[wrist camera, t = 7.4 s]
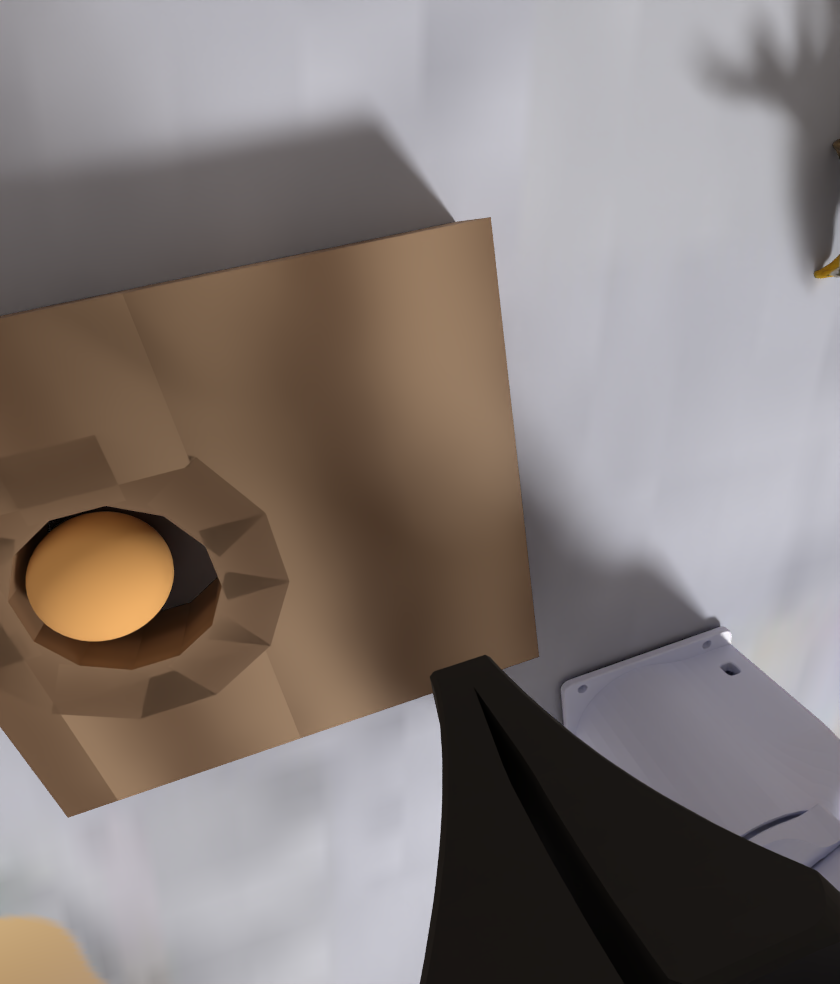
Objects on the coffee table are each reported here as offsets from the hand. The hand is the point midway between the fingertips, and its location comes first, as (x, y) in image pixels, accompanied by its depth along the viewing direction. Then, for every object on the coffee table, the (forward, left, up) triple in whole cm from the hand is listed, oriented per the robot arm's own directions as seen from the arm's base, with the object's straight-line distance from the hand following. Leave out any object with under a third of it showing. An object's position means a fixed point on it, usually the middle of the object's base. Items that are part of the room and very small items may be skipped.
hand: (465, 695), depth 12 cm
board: (+5, -1, -10) cm, 11 cm away
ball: (+9, -2, -8) cm, 12 cm away
